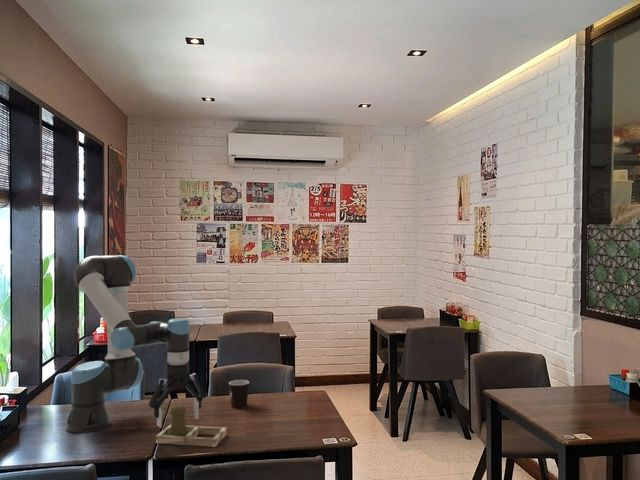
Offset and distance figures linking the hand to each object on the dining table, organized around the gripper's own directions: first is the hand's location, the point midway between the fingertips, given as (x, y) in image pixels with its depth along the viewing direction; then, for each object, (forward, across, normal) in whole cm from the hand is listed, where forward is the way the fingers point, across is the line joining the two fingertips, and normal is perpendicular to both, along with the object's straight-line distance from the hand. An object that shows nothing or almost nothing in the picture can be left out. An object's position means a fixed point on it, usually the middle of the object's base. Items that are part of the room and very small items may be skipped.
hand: (178, 422), depth 184 cm
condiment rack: (+6, +4, -4) cm, 8 cm away
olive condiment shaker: (+5, 0, 0) cm, 5 cm away
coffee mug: (+6, +35, +20) cm, 41 cm away
